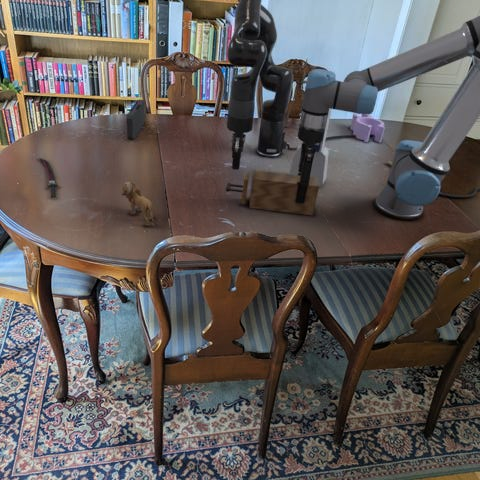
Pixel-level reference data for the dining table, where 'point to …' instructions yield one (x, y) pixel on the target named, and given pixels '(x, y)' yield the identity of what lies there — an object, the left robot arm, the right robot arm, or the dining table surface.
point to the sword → (52, 181)
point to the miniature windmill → (296, 68)
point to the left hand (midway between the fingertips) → (235, 168)
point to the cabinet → (281, 193)
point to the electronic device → (314, 159)
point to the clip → (367, 127)
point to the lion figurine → (137, 201)
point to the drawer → (241, 187)
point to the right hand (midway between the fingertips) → (299, 197)
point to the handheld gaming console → (135, 119)
